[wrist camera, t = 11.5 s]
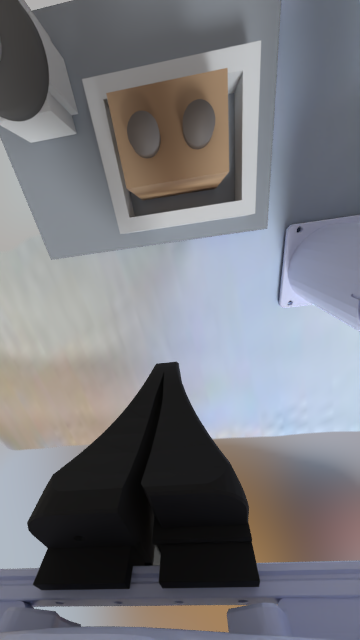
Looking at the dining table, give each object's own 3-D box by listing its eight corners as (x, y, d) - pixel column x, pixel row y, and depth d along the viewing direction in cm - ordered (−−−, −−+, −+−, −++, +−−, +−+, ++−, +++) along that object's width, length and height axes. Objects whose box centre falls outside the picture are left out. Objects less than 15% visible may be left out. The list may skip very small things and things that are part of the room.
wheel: (59, 29, 12) (-20, -96, 7) (86, 135, 14) (40, 90, 9) (-15, 47, 12) (-134, -62, 8) (23, 147, 14) (-51, 110, 10)
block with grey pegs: (212, 121, 13) (231, 53, 8) (215, 188, 15) (232, 167, 10) (131, 137, 14) (99, 81, 9) (143, 200, 16) (122, 185, 10)
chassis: (276, -30, 11) (312, -132, 8) (262, 228, 17) (280, 228, 14) (-29, 43, 13) (-99, -18, 10) (57, 258, 19) (31, 264, 16)
